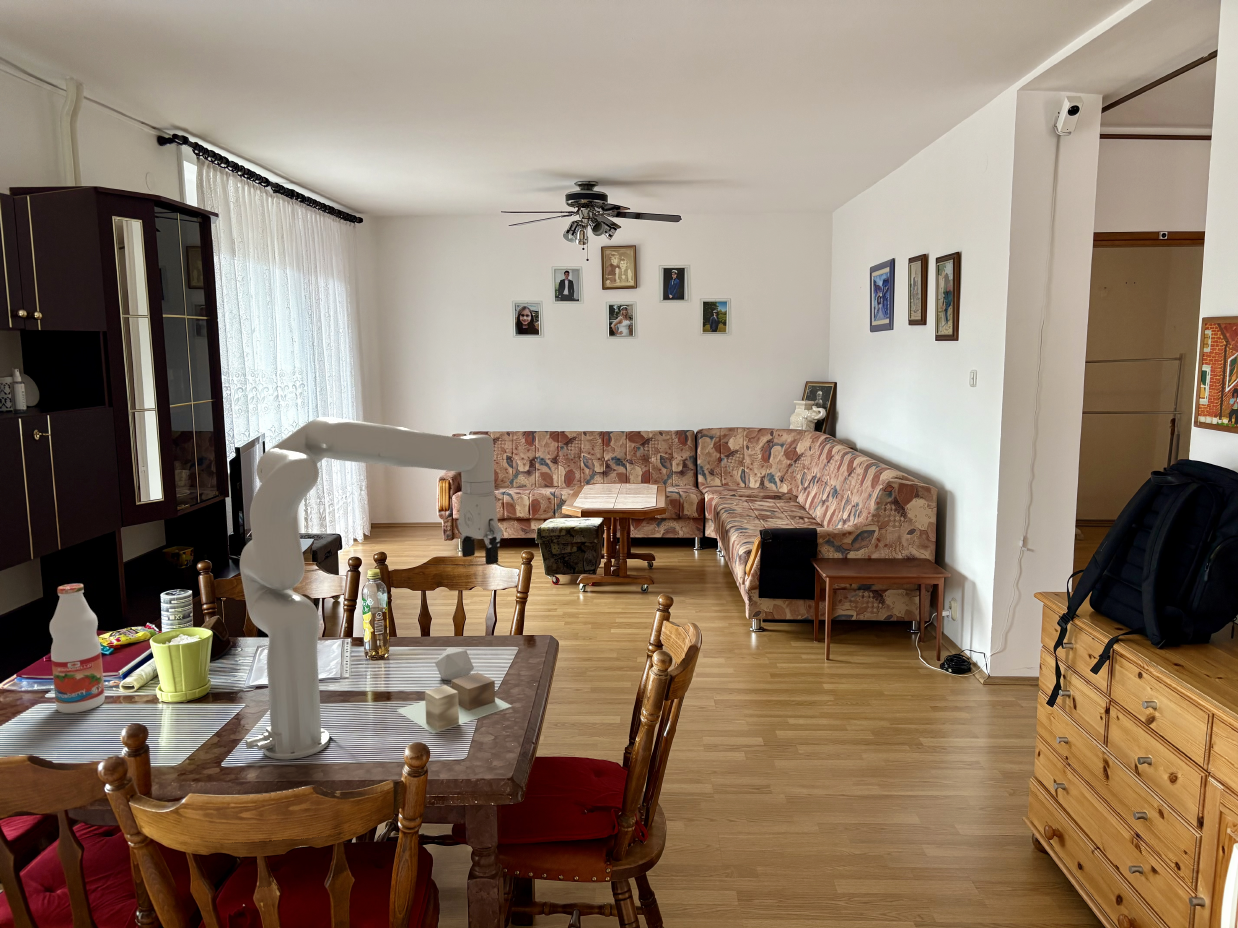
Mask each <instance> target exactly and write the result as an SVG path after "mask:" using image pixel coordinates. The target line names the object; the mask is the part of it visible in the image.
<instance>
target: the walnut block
mask: <svg viewBox="0 0 1238 928" xmlns="http://www.w3.org/2000/svg"><path fill="white" fill-rule="evenodd" d="M450 683H451V684H450V685H451V687H450V688H452V689H454V690H456V691H457V692H458V705H459V706H461V707H463V708H465V709H466V710H468V711H470V710H473V709H476V708H479V707H482V706H485V705H488V704H491V703H493V702H495V697H496V680H494V679H492V678H490V677H488V676H485V675H484V674H482V673H480V672H478V671H477V672H474V673H470V674H469V675H467V676H464V677H460V678H457V679H454V680H451V682H450Z"/></svg>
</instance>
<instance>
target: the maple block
mask: <svg viewBox="0 0 1238 928" xmlns="http://www.w3.org/2000/svg"><path fill="white" fill-rule="evenodd" d="M424 701H425V705H426V723H427V724H429V725H430V726H432V727H433V728H435V729H437V730H441V729H444V728H447V727H450V726H453V725H456V724H459V706H458V692H457V691H456V690H454V689H452V688H451V687H450V686H448V685H446V684H444V685H443V686H442V685H441V686H439V687H436V688H431V689H428V690H426V691H424Z"/></svg>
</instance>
